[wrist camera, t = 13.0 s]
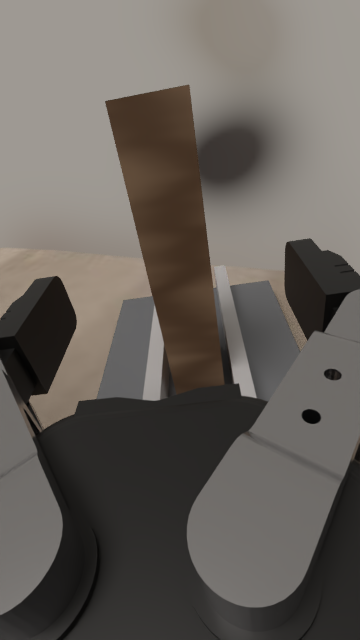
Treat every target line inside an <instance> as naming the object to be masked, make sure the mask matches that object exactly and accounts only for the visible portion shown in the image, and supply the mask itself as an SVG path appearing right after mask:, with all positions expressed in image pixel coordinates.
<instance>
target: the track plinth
mask: <svg viewBox="0 0 360 640" xmlns="http://www.w3.org/2000/svg"><path fill="white" fill-rule="evenodd" d="M214 271H215V280H216V288H213V291H214V299H215V308H216V316H217V325H218V333H219V341H220V350H221V358H222V367H223V375H224V384H225V385H228V384H237V383H239V386H240V391H241V396H249V397H253V398H258V399H262V400H265V401H268V402H269V400H270V399H271V397H272V395H273V394H274V392H275V391H276V389H277V388H278V386H279V385H280V383H281V381H282V380H283V378H284V377H285V375H286V374H287V372H288V371H289V369H290V367H291V366H292V364H293V363H294V361H295V360H296V358H297V357H298V355H299V353H300V350H299V348H298V346H297V344H296V341H295V339H294V337H293V335H292V332H291V330H290V328H289V326H288V323H287V321H286V319H285V317H284V314H283V312H282V310H281V308H280V305H279V303H278V301H277V299H276V296H275V294H274V292H273V290H272V287H271V285H270V283H269V281H261V282H254V283H246V284H239V285H232V286H230V284H229V280H228V276H227V272H226V268H225V265H224V266H217V267H214ZM174 395H177V394H176V390H175V386H174V382H173V378H172V374H171V370H170V366H169V362H168V357H167V353H166V349H165V345H164V341H163V337H162V333H161V329H160V325H159V321H158V316H157V312H156V308H155V304H154V300H153V296H151V297H144V298H137V299H129V300H123V304H122V308H121V311H120V315H119V319H118V322H117V326H116V330H115V333H114V337H113V341H112V344H111V348H110V352H109V355H108V359H107V363H106V366H105V370H104V374H103V377H102V381H101V385H100V388H99V392H98V396H97V399H103V398H112V397H122V398H132V399H141V400H151V401H157V400H161V399H165V398H168V397H171V396H174Z"/></svg>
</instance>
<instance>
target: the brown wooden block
mask: <svg viewBox="0 0 360 640" xmlns="http://www.w3.org/2000/svg"><path fill="white" fill-rule="evenodd" d="M105 103H106V107H107V111H108V115H109V119H110V123H111V127H112V131H113V135H114V140H115V144H116V148H117V152H118V156H119V160H120V164H121V168H122V173H123V176H124V181H125V185H126V189H127V193H128V197H129V201H130V205H131V210H132V213H133V217H134V222H135V226H136V230H137V234H138V238H139V242H140V247H141V251H142V255H143V259H144V263H145V267H146V271H147V275H148V279H149V284H150V288H151V292H152V296H153V300H154V304H155V308H156V312H157V316H158V321H159V325H160V329H161V333H162V337H163V341H164V345H165V349H166V353H167V357H168V362H169V366H170V370H171V374H172V378H173V382H174V386H175V390H176V394H180V393H184V392H187V391H190V390H193V389H196V388H201V387H210V386H219V385H225V384H224V375H223V367H222V358H221V350H220V341H219V333H218V325H217V316H216V308H215V299H214V291H213V282H212V274H211V265H210V257H209V249H208V240H207V231H206V223H205V215H204V207H203V198H202V190H201V181H200V172H199V164H198V155H197V148H196V139H195V130H194V121H193V113H192V104H191V96H190V87H189V85H185V86H180V87H175V88H169V89H164V90H160V91H155V92H149V93H144V94H139V95H134V96H129V97H124V98H119V99H114V100H108V101H105Z"/></svg>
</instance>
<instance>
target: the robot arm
mask: <svg viewBox="0 0 360 640" xmlns="http://www.w3.org/2000/svg"><path fill="white" fill-rule="evenodd" d="M285 293H286V298H287V300H288V303H289V305H290V307H291V309H292V311H293V313H294V315H295V317H296V319H297V321H298V323H299V325H300V327H301V328H302V330H303V332H304V334H305V336H306V338H307V340H308V341H307V343H306V344H305V346H304V347H303V349H302V350H301V352H300V353H299V355H298V357H297V358H296V360H295V361H294V363H293V364H292V366H291V367H290V369H289V371H288V372H287V374H286V375H285V377H284V378H283V380H282V381H281V383H280V385H279V386H278V388H277V389H276V391H275V392H274V394H273V395H272V397H271V399H270V400H269V402H268V401H265V400H262V399H258V398H253V397H249V396H241V391H240V386H239V383H237V384H228V385H219V386H210V387H201V388H196V389H193V390H190V391H187V392H184V393H180V394H177V395H174V396H171V397H168V398H165V399H161V400H157V401H151V400H141V399H132V398H122V397H112V398H103V399H94V400H85V401H79V402H78V406H77V409H76V412H75V414H74V415H71V416H69V417H66V418H64V419H62V420H60V421H58V422H56V423H54V424H52V425H51V426H49V427H47V428H46V429H44V428H43V426H42V424H41V422H40V420H39V418H38V416H37V414H36V412H35V410H34V408H33V406H32V405H31V403H30V401H29V399H30V396H31V395H40V394H47V393H48V391H49V389H50V386H51V384H52V382H53V380H54V377H55V375H56V373H57V370H58V368H59V366H60V364H61V361H62V359H63V357H64V354H65V352H66V350H67V347H68V345H69V343H70V341H71V338H72V336H73V334H74V331H75V329H76V324H77V320H76V314H75V311H74V309H73V306H72V304H71V302H70V299H69V297H68V294H67V292H66V290H65V287H64V285H63V283H62V281H61V279H60V278H59V277H58V276H54V277H47V278H40V279H36V280H35V281H34V282H33V283H32V284H31V286H30V287H29V288H28V290H27V291H26V292H25V294H24V295H23V296H21V297H20V298H19V299H17V300H16V301H15V302H13V303H12V305H11V306H10V307H9V308H8V310H7V311H6V313H5V314H4V315H3V316H2V317H1V320H0V640H360V276H359V274H358V273H357V272H354V269H353V268H352V267H351V266H350V265H348V263H347V262H346V261H345V260H344V259H343V258H342V257H341V256H340V255H338V254H335V253H333V252H331V251H328V250H327V251H321V250H320V249H319V248H318V246H317V245H316V244H315V243H314V242H313V241H312V239H303V240H296V241H290V242H287V243H286V248H285Z"/></svg>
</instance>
